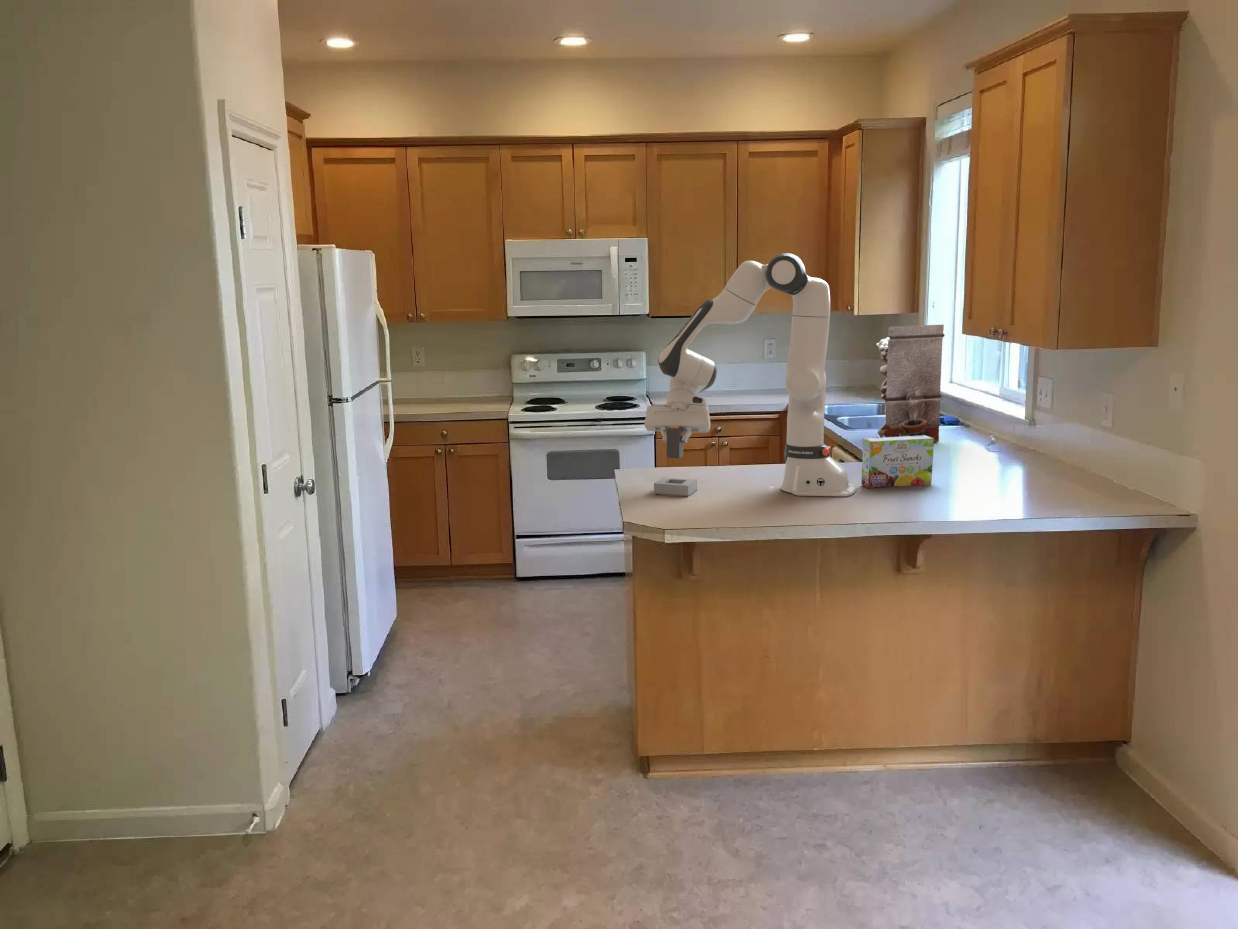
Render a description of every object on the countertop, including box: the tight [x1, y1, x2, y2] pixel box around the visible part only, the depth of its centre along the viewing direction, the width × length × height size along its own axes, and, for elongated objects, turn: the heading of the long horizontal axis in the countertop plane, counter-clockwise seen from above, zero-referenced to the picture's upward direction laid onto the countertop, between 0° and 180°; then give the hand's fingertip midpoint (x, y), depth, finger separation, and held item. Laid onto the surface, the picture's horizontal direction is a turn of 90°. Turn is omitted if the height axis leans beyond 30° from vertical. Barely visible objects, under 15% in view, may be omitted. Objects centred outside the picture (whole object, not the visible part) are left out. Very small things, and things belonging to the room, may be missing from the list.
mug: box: [885, 418, 927, 437], centre depth 324 cm, size 18×12×15 cm, turn 118°
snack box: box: [860, 435, 935, 489], centre depth 292 cm, size 21×6×15 cm, turn 101°
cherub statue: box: [876, 324, 945, 443], centre depth 363 cm, size 23×19×45 cm
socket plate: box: [653, 477, 698, 498], centre depth 290 cm, size 11×9×4 cm
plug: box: [666, 425, 684, 459], centre depth 287 cm, size 4×4×10 cm
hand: (674, 441), depth 286 cm, fingers closed on plug, 4 cm apart
